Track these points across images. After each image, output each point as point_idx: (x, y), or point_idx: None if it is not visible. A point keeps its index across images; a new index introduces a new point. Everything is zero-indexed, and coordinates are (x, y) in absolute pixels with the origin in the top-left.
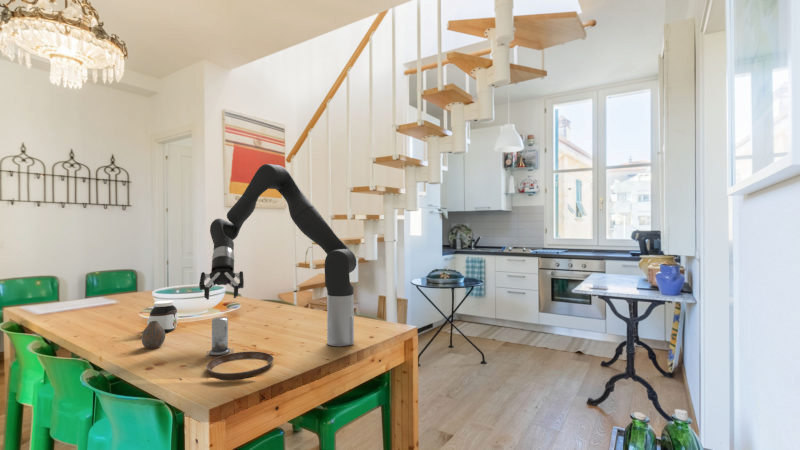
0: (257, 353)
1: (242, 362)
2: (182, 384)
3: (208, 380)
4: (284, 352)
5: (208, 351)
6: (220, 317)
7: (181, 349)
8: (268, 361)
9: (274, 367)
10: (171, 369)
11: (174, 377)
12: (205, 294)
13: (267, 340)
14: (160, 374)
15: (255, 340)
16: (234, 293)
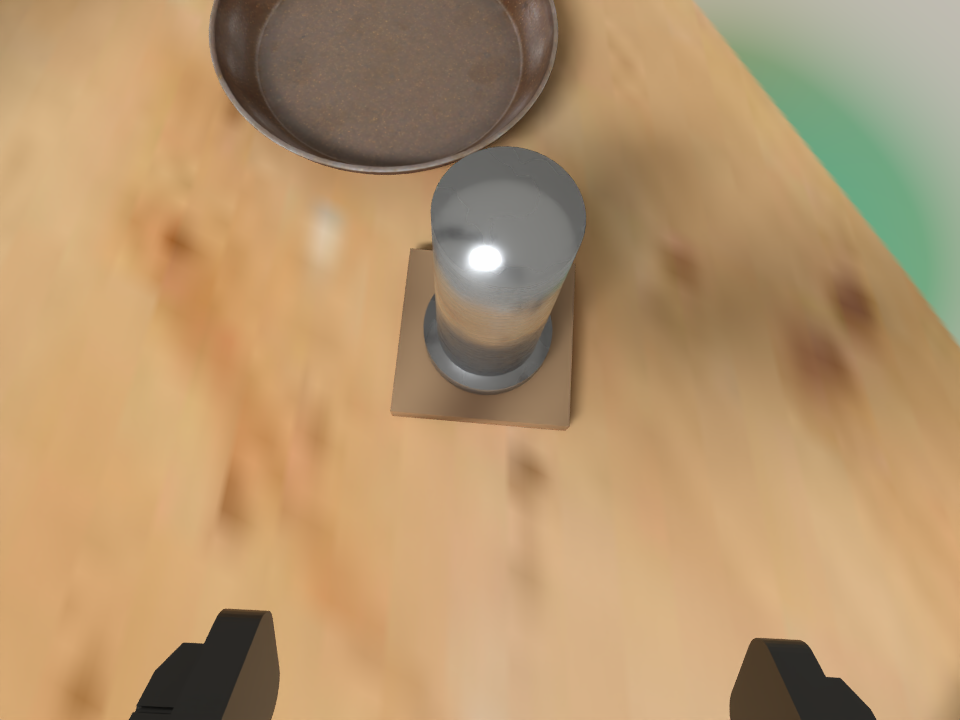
0: (273, 134)
1: None
2: (642, 15)
3: None
4: (93, 240)
5: (559, 415)
6: (503, 269)
7: None
8: (240, 59)
9: None
10: (730, 232)
11: (692, 110)
12: (846, 708)
13: (100, 613)
14: (768, 180)
15: None
16: (238, 637)
